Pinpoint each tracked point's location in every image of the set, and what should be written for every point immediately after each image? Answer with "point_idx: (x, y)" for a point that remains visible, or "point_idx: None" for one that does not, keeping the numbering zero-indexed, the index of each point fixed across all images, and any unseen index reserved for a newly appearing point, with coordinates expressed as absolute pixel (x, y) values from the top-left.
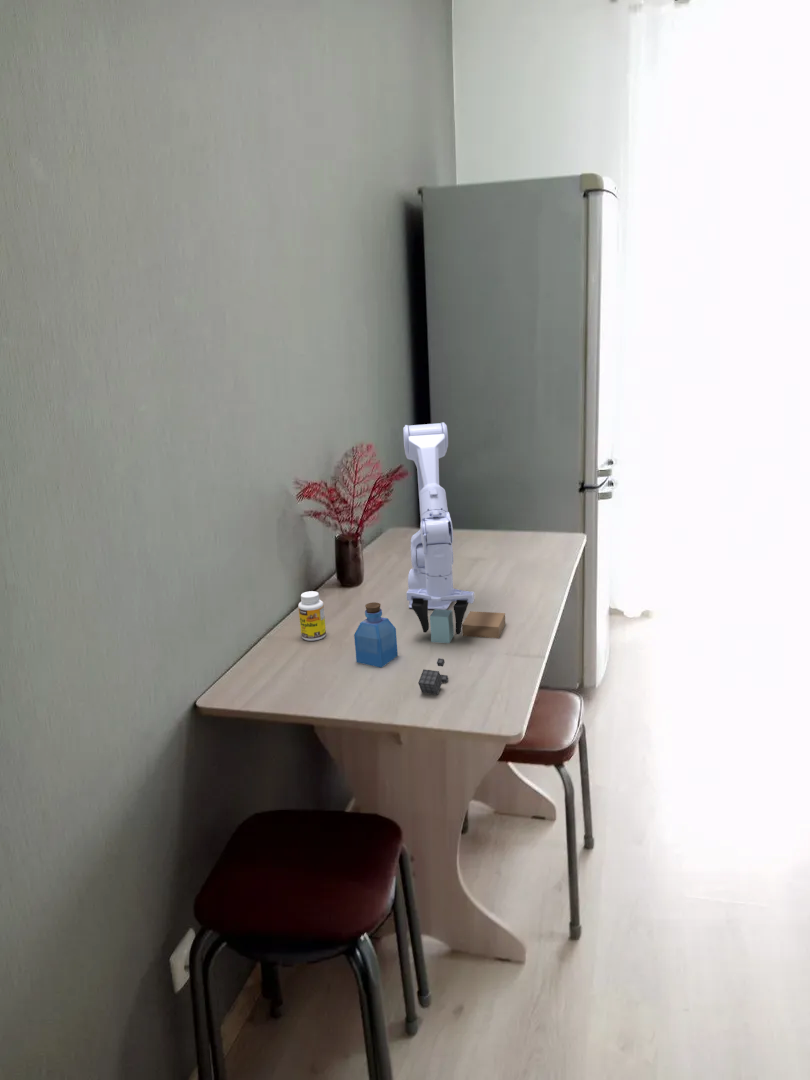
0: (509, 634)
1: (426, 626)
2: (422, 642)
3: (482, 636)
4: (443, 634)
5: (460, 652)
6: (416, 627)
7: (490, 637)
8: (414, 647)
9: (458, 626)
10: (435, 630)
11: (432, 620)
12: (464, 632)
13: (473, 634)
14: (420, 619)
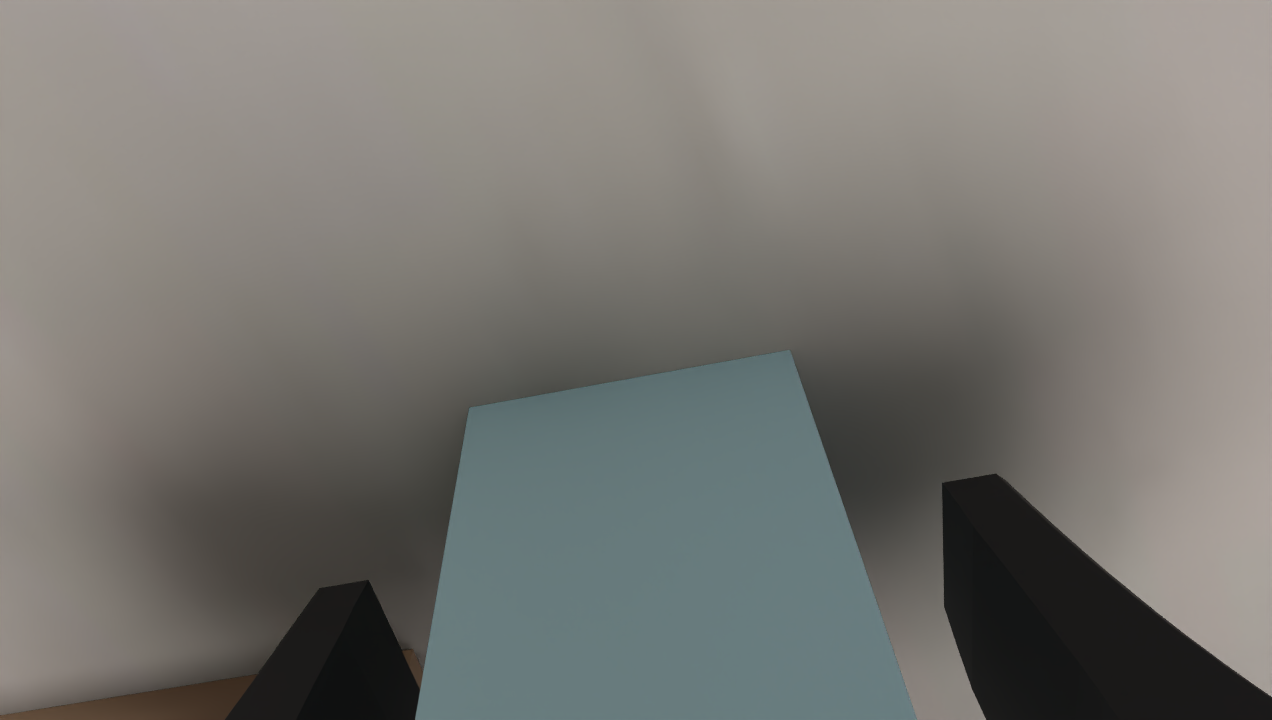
0: None
1: (982, 595)
2: (943, 284)
3: (123, 706)
4: (559, 490)
5: (26, 126)
6: None
7: (15, 717)
8: (1039, 28)
9: (238, 717)
10: (732, 517)
11: (838, 704)
12: None
13: None
14: (1193, 672)
